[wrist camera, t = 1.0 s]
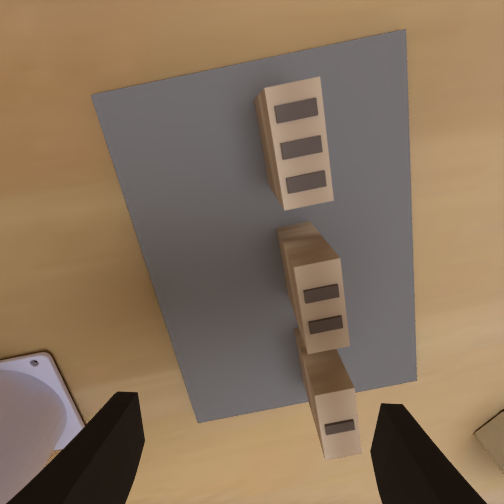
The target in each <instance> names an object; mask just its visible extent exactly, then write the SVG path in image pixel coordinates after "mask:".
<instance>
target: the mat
mask: <svg viewBox="0 0 504 504" xmlns="http://www.w3.org/2000/svg"><path fill="white" fill-rule="evenodd" d="M315 77H320V80H321V89H322V98H323V107H324V116H325V125H326V134H327V143H328V152H329V161H330V170H331V179H332V188H333V197H334V201H329V202H324V203H319V204H315V205H310V206H305V207H300V208H295V209H290V210H285V211H284V209H283V208H282V206H281V204H280V203H279V201H278V200H277V198H276V196H275V195H274V193H273V191H272V190H271V188H270V187H269V183H268V177H267V171H266V166H265V160H264V154H263V149H262V143H261V137H260V132H259V126H258V120H257V114H256V109H255V103H254V99H255V98H256V97H257V96H258V95H259V94H260V92H261V91H262V90H263V89H264V88H267V87H271V86H276V85H281V84H286V83H291V82H296V81H300V80H305V79H310V78H315ZM91 97H92V100H93V103H94V107H95V110H96V113H97V116H98V119H99V122H100V125H101V128H102V131H103V134H104V137H105V140H106V143H107V146H108V149H109V152H110V156H111V159H112V162H113V165H114V168H115V171H116V174H117V177H118V180H119V183H120V186H121V189H122V192H123V195H124V198H125V202H126V205H127V208H128V211H129V214H130V217H131V220H132V223H133V226H134V229H135V232H136V235H137V238H138V241H139V244H140V247H141V251H142V254H143V257H144V260H145V263H146V266H147V269H148V272H149V275H150V278H151V281H152V284H153V287H154V290H155V293H156V297H157V300H158V303H159V306H160V309H161V312H162V315H163V318H164V321H165V324H166V327H167V330H168V333H169V336H170V339H171V342H172V346H173V349H174V352H175V355H176V358H177V361H178V364H179V367H180V370H181V373H182V376H183V379H184V382H185V385H186V388H187V392H188V395H189V398H190V401H191V404H192V407H193V410H194V413H195V416H196V419H197V422H198V423H202V422H207V421H212V420H217V419H222V418H227V417H233V416H238V415H243V414H248V413H253V412H258V411H263V410H269V409H274V408H279V407H284V406H289V405H294V404H299V403H305V402H309V401H308V397H307V393H306V390H305V386H304V383H303V377H302V371H301V366H300V360H299V354H298V348H297V343H296V337H295V331H294V329H295V328H299V326H298V323H297V320H296V317H295V314H294V311H293V308H292V305H291V302H290V299H289V296H288V291H287V286H286V280H285V274H284V269H283V263H282V257H281V251H280V246H279V240H278V234H277V229H276V228H279V227H284V226H289V225H294V224H299V223H304V222H309V221H310V222H311V223H312V224H313V225H314V227H315V228H316V229H317V230H318V232H319V233H320V234H321V235H322V236H323V238H324V239H325V240H326V241H327V243H328V244H329V245H330V246H331V247H332V249H333V250H334V251H335V252H336V254H337V255H338V256H339V257H340V260H341V269H342V278H343V287H344V296H345V305H346V314H347V323H348V332H349V341H350V346H348V347H343V348H338V349H337V351H338V354H339V356H340V358H341V360H342V362H343V364H344V366H345V368H346V371H347V373H348V375H349V377H350V379H351V381H352V383H353V386H354V388H355V393H356V392H361V391H366V390H371V389H377V388H382V387H387V386H392V385H397V384H402V383H407V382H413V381H417V368H416V335H415V303H414V271H413V238H412V206H411V174H410V141H409V109H408V77H407V44H406V29H404V30H399V31H394V32H389V33H385V34H380V35H375V36H370V37H365V38H361V39H356V40H351V41H346V42H341V43H337V44H332V45H327V46H322V47H318V48H313V49H308V50H303V51H298V52H294V53H289V54H284V55H279V56H274V57H270V58H265V59H260V60H255V61H250V62H246V63H241V64H236V65H231V66H227V67H222V68H217V69H212V70H207V71H203V72H198V73H193V74H188V75H183V76H179V77H174V78H169V79H164V80H160V81H155V82H150V83H145V84H140V85H136V86H131V87H126V88H121V89H116V90H112V91H107V92H102V93H97V94H92V95H91Z"/></svg>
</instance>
